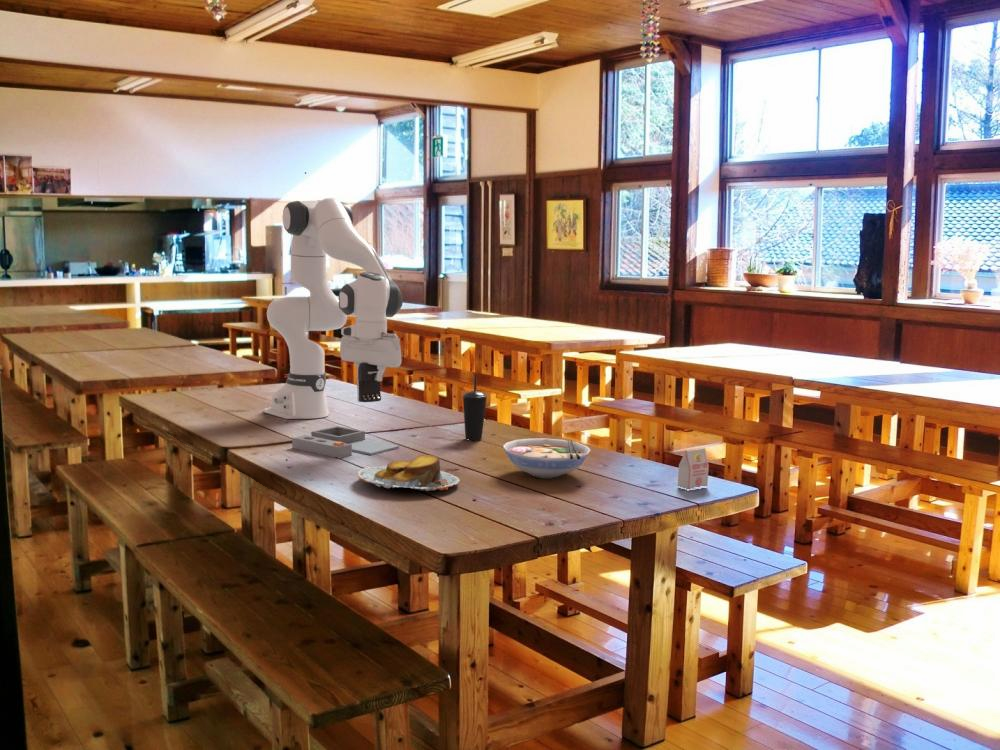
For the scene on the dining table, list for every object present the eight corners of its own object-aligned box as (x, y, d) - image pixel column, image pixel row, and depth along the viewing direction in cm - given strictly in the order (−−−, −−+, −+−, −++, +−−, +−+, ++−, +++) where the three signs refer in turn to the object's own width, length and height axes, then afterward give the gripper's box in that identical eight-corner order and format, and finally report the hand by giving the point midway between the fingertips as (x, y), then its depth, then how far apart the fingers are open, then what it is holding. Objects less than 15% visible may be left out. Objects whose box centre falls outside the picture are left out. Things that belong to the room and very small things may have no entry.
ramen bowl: (503, 461, 265) (504, 432, 264) (586, 465, 265) (588, 436, 263) (500, 485, 240) (501, 453, 239) (592, 489, 240) (593, 457, 239)
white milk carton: (677, 488, 244) (679, 449, 243) (696, 484, 248) (699, 446, 247) (687, 491, 241) (690, 452, 240) (707, 488, 245) (709, 449, 244)
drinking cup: (456, 440, 290) (458, 374, 287) (466, 435, 297) (468, 371, 294) (480, 443, 287) (482, 376, 284) (489, 438, 294) (492, 373, 291)
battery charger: (362, 403, 270) (362, 362, 268) (356, 402, 273) (355, 361, 272) (384, 401, 274) (384, 361, 273) (378, 400, 277) (377, 360, 276)
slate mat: (339, 448, 274) (339, 446, 274) (367, 441, 284) (367, 439, 284) (371, 455, 267) (371, 453, 267) (399, 448, 277) (399, 445, 277)
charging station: (283, 446, 274) (283, 433, 274) (337, 434, 293) (337, 422, 292) (339, 458, 263) (339, 445, 262) (391, 445, 281) (392, 432, 280)
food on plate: (348, 475, 247) (349, 450, 246) (442, 470, 255) (443, 446, 254) (370, 502, 223) (370, 474, 222) (472, 496, 231) (473, 469, 231)
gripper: (406, 333, 268) (405, 382, 270) (352, 327, 279) (351, 374, 281) (392, 335, 262) (391, 385, 264) (336, 328, 274) (336, 376, 276)
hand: (370, 379), depth 273 cm, fingers closed on battery charger, 5 cm apart
